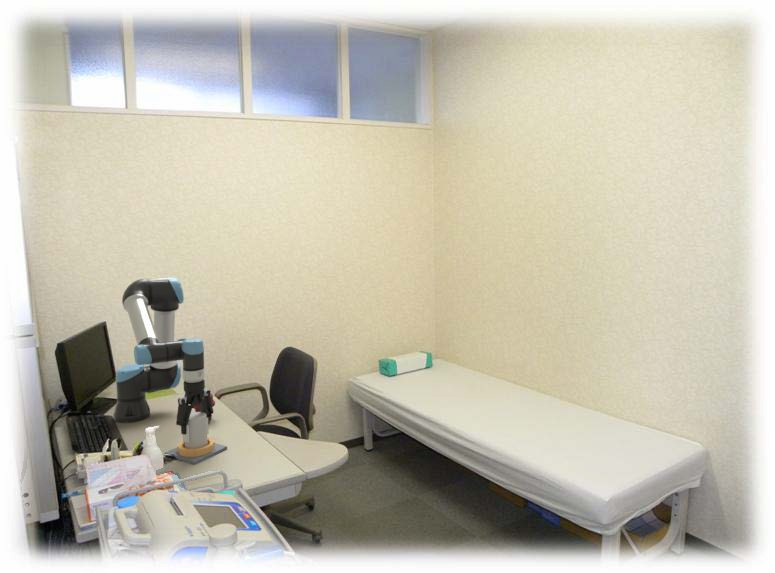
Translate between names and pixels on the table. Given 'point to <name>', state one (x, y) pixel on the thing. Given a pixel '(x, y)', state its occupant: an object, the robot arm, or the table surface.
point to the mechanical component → (204, 402)
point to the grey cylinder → (197, 430)
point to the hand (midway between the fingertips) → (195, 437)
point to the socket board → (200, 458)
